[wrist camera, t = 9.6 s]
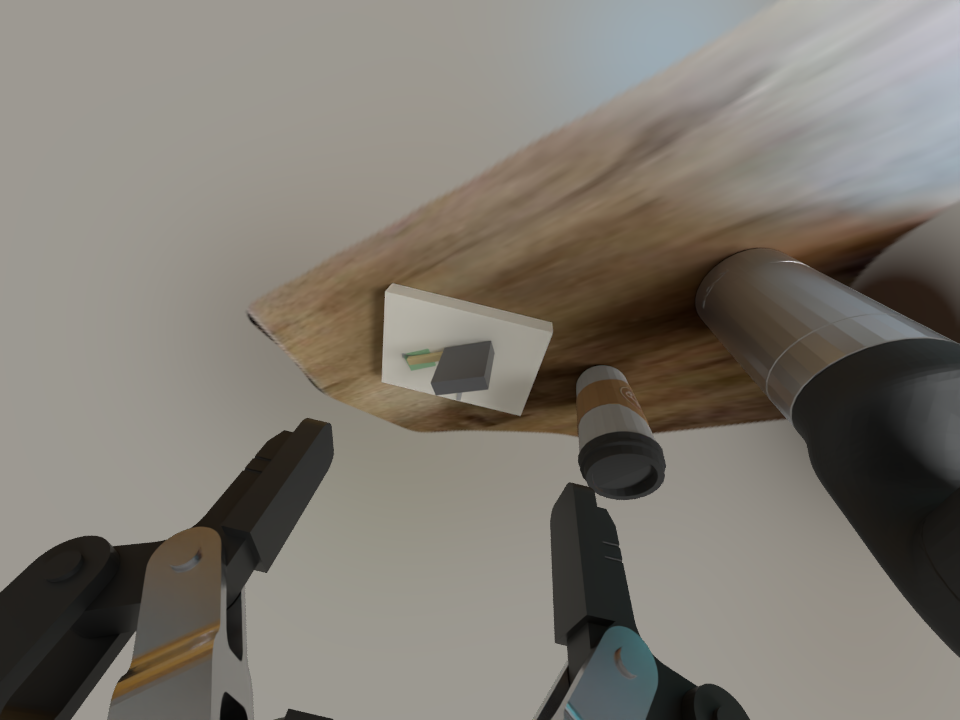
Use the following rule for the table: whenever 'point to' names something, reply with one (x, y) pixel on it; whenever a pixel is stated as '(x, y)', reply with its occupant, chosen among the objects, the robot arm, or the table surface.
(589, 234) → the table surface
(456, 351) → the dark gray beam
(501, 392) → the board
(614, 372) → the coffee cup
